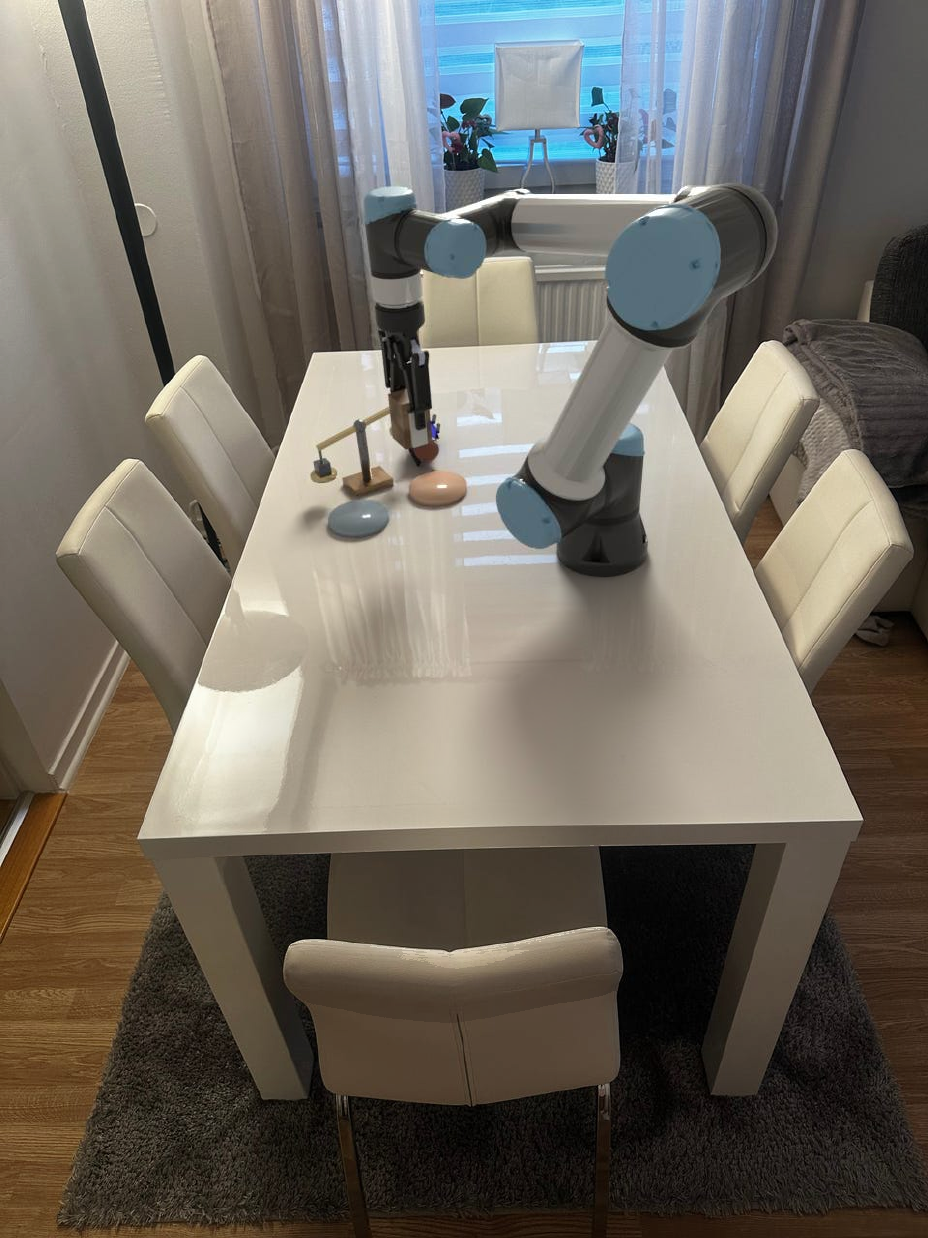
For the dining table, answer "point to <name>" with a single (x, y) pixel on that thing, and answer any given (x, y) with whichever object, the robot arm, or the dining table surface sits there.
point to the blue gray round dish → (358, 518)
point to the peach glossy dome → (437, 488)
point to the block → (403, 419)
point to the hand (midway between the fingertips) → (412, 437)
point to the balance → (369, 476)
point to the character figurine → (427, 446)
